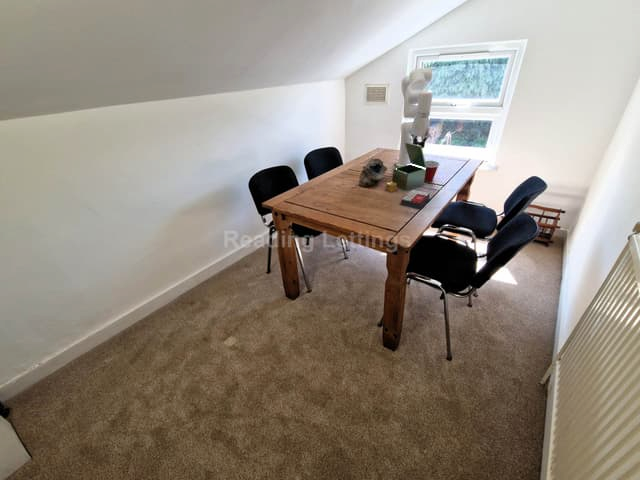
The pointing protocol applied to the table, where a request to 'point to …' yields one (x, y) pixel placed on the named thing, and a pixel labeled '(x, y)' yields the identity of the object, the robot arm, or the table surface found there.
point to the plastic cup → (430, 170)
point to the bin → (409, 176)
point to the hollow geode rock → (372, 172)
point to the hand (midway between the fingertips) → (418, 146)
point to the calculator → (415, 199)
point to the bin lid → (415, 154)
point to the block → (391, 186)
